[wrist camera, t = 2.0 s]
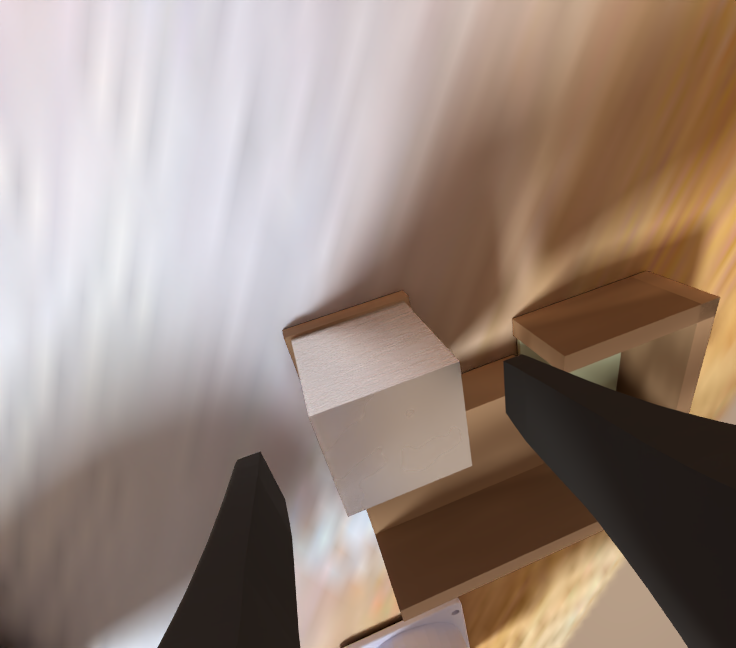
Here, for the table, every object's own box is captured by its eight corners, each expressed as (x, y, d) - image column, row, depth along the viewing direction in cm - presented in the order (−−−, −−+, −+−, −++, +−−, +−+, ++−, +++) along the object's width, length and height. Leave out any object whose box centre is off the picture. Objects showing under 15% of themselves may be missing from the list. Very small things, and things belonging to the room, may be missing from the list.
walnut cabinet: (626, 399, 20) (728, 472, 16) (352, 512, 18) (385, 630, 14) (656, 205, 15) (817, 237, 11) (282, 330, 13) (301, 427, 9)
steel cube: (420, 390, 15) (471, 465, 12) (323, 426, 15) (348, 516, 11) (403, 301, 13) (459, 361, 10) (290, 338, 13) (308, 416, 9)
